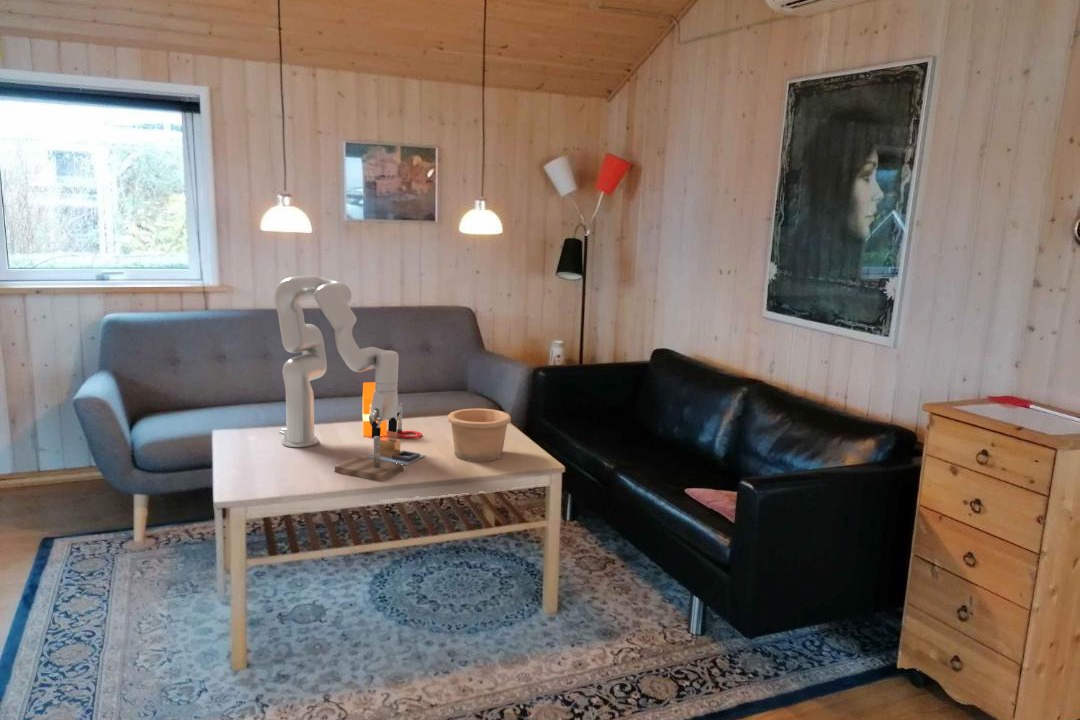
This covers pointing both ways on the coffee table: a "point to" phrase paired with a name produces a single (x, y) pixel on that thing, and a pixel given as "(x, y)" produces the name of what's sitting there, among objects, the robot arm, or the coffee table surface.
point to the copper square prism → (395, 450)
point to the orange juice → (367, 403)
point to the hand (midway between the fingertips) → (384, 434)
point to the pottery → (478, 433)
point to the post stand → (369, 466)
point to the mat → (389, 459)
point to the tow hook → (401, 433)
